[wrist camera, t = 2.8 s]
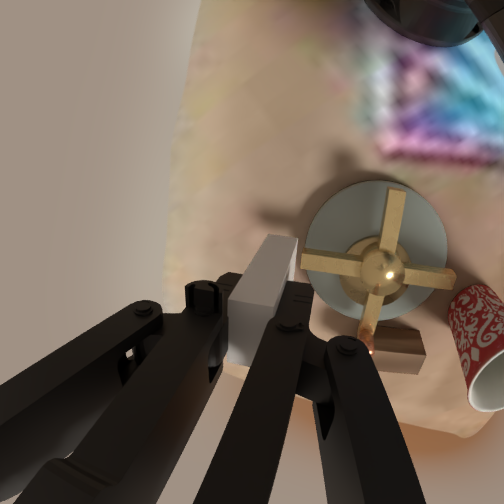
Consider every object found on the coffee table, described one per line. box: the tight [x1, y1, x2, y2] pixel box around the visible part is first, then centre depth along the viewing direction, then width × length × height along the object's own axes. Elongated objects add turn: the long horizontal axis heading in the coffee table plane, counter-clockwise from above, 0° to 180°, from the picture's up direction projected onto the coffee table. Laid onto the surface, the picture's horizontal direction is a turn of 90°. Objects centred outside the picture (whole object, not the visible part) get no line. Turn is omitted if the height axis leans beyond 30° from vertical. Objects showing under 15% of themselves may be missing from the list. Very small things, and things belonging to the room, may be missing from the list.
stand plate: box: [305, 180, 447, 321], centre depth 34 cm, size 16×16×2 cm
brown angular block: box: [356, 326, 426, 375], centre depth 36 cm, size 4×8×5 cm, turn 86°
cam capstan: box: [300, 186, 457, 357], centre depth 30 cm, size 16×16×7 cm
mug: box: [448, 285, 504, 412], centre depth 27 cm, size 13×9×14 cm
